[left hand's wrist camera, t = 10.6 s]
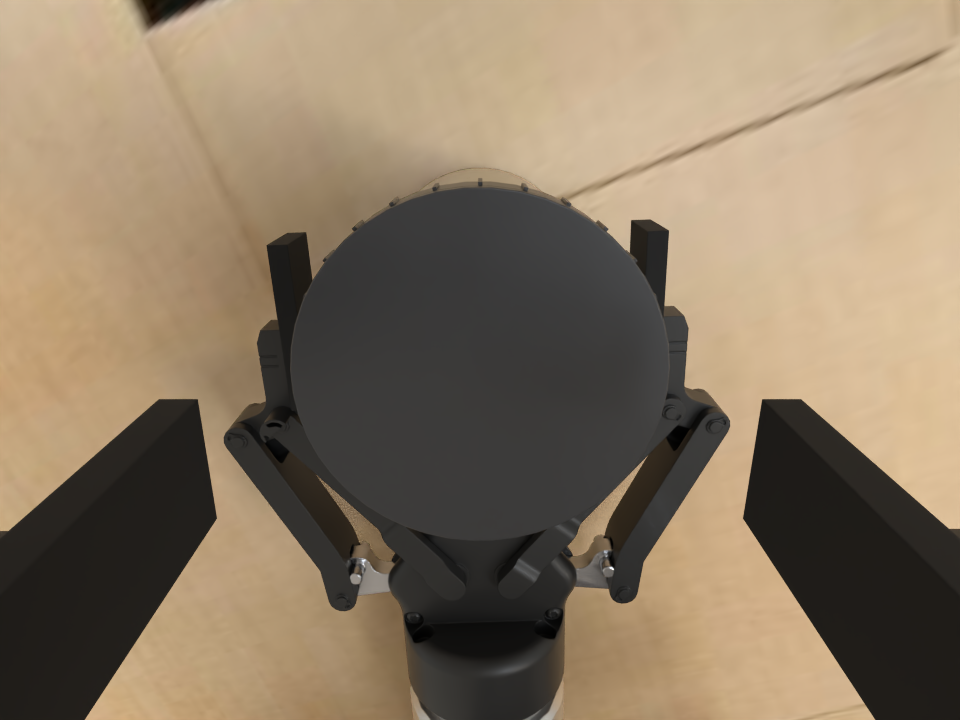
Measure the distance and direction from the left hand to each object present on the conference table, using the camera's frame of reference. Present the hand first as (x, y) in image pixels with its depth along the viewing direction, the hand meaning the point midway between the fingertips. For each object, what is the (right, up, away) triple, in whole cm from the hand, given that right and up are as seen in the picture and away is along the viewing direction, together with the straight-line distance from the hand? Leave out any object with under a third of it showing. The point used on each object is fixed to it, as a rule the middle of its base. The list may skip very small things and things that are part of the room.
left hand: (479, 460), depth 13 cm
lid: (0, +2, +4) cm, 5 cm away
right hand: (0, +7, +11) cm, 13 cm away
